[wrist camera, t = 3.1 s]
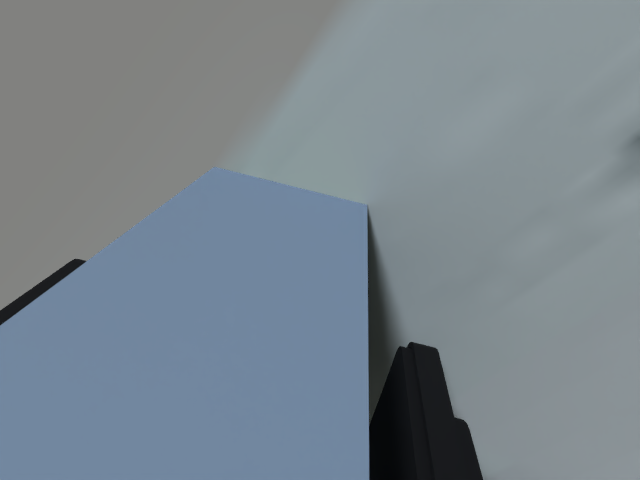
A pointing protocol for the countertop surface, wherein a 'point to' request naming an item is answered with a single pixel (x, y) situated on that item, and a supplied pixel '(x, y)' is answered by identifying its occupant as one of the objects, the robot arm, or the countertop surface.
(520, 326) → the countertop surface
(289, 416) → the light blue block
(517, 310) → the countertop surface
